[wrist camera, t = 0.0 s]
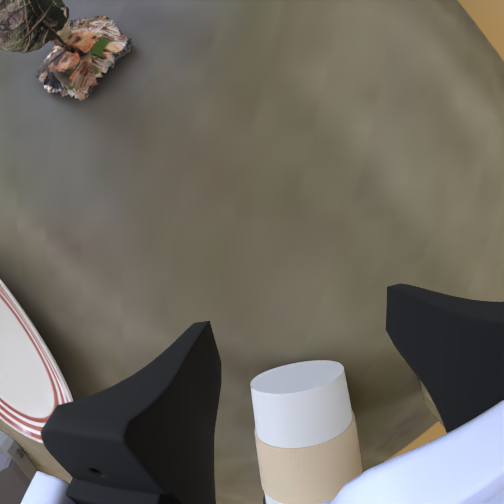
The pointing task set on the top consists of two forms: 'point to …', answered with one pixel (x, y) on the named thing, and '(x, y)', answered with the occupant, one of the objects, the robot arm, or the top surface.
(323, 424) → the coffee cup
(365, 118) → the top surface
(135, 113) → the top surface
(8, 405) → the dinner plate
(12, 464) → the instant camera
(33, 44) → the plant with pod
